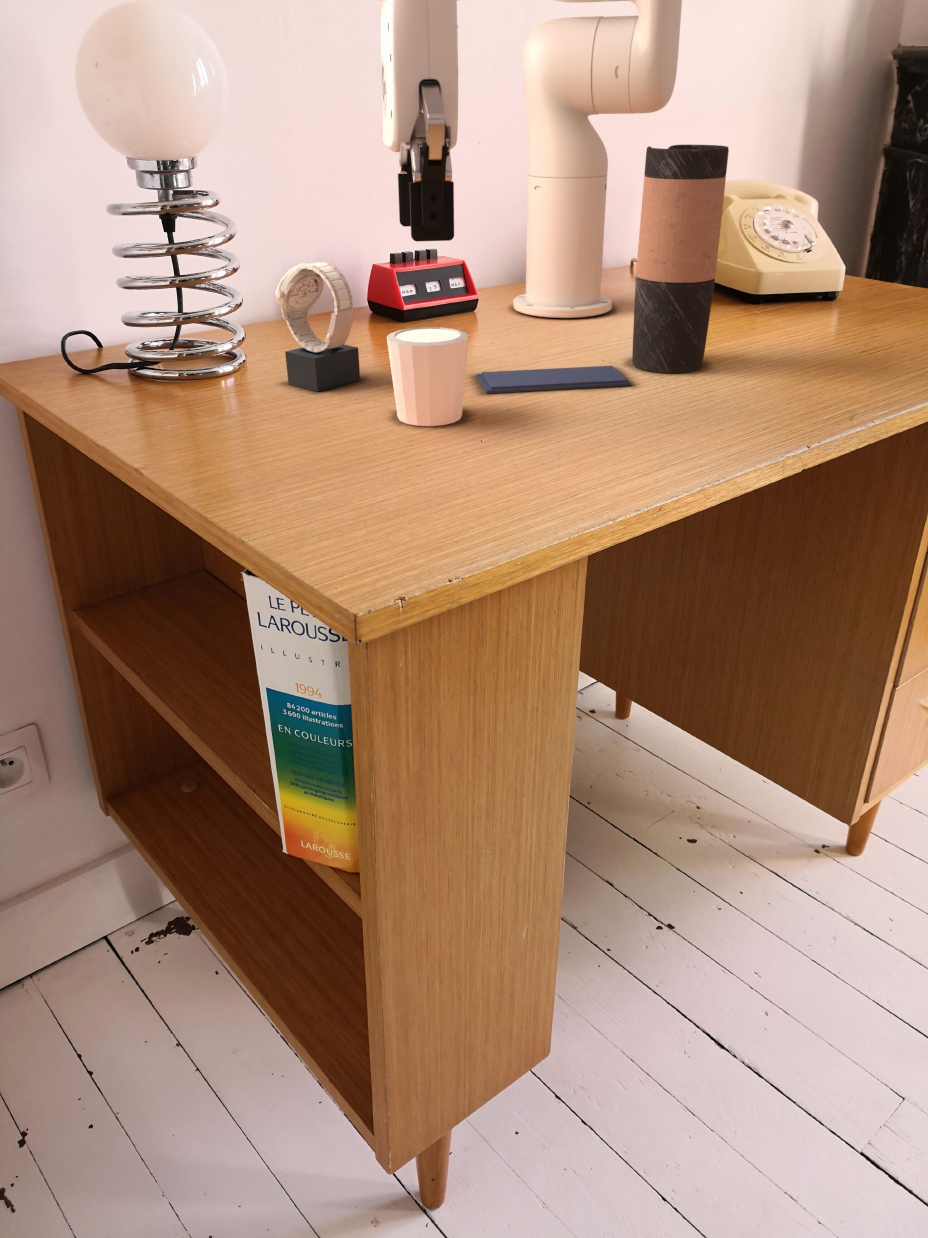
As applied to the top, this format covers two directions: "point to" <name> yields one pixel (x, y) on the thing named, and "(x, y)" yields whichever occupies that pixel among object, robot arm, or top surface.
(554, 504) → the top surface
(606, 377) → the blue flat rectangular slab
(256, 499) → the top surface
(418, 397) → the cream tapered cup
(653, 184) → the travel mug
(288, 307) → the watch
